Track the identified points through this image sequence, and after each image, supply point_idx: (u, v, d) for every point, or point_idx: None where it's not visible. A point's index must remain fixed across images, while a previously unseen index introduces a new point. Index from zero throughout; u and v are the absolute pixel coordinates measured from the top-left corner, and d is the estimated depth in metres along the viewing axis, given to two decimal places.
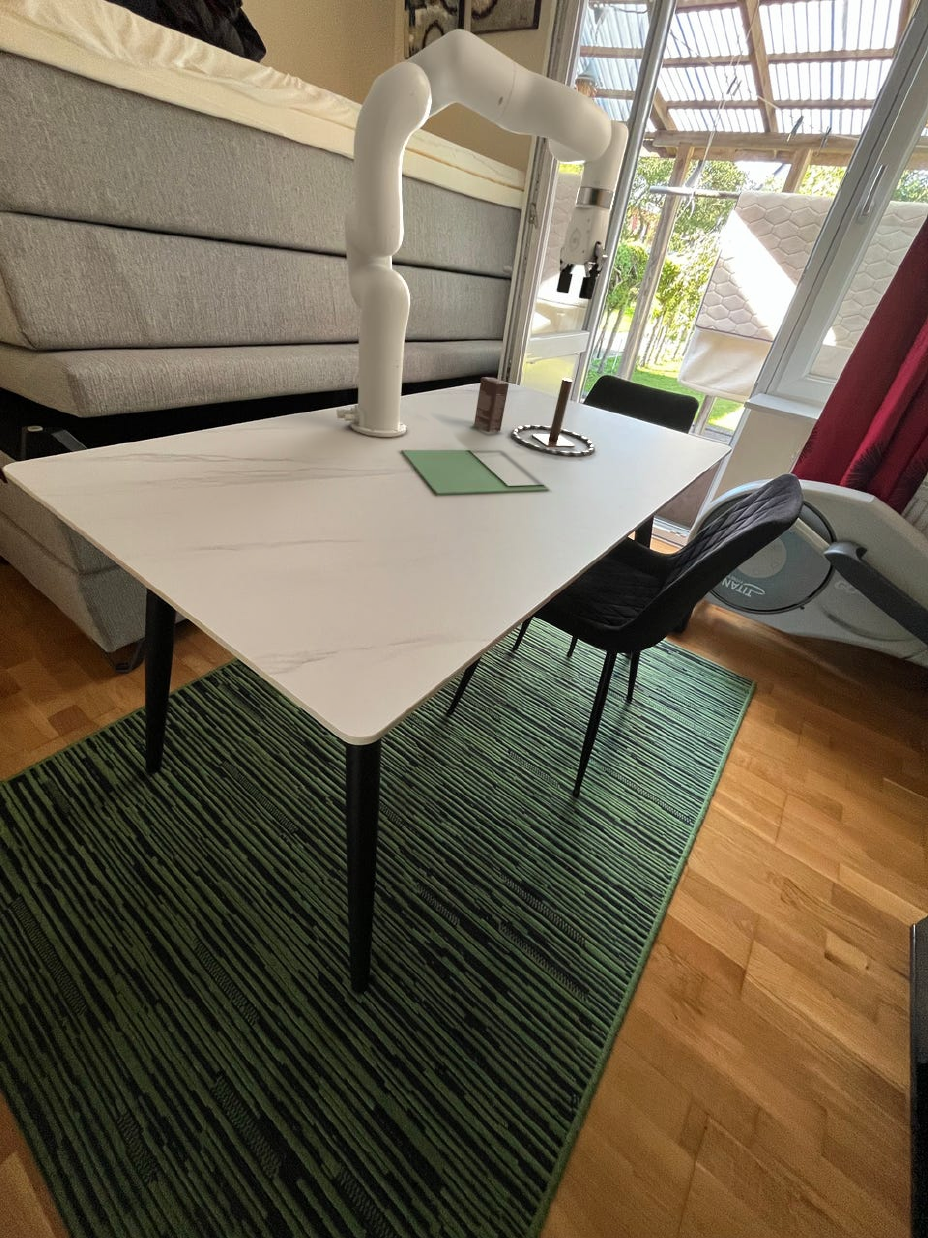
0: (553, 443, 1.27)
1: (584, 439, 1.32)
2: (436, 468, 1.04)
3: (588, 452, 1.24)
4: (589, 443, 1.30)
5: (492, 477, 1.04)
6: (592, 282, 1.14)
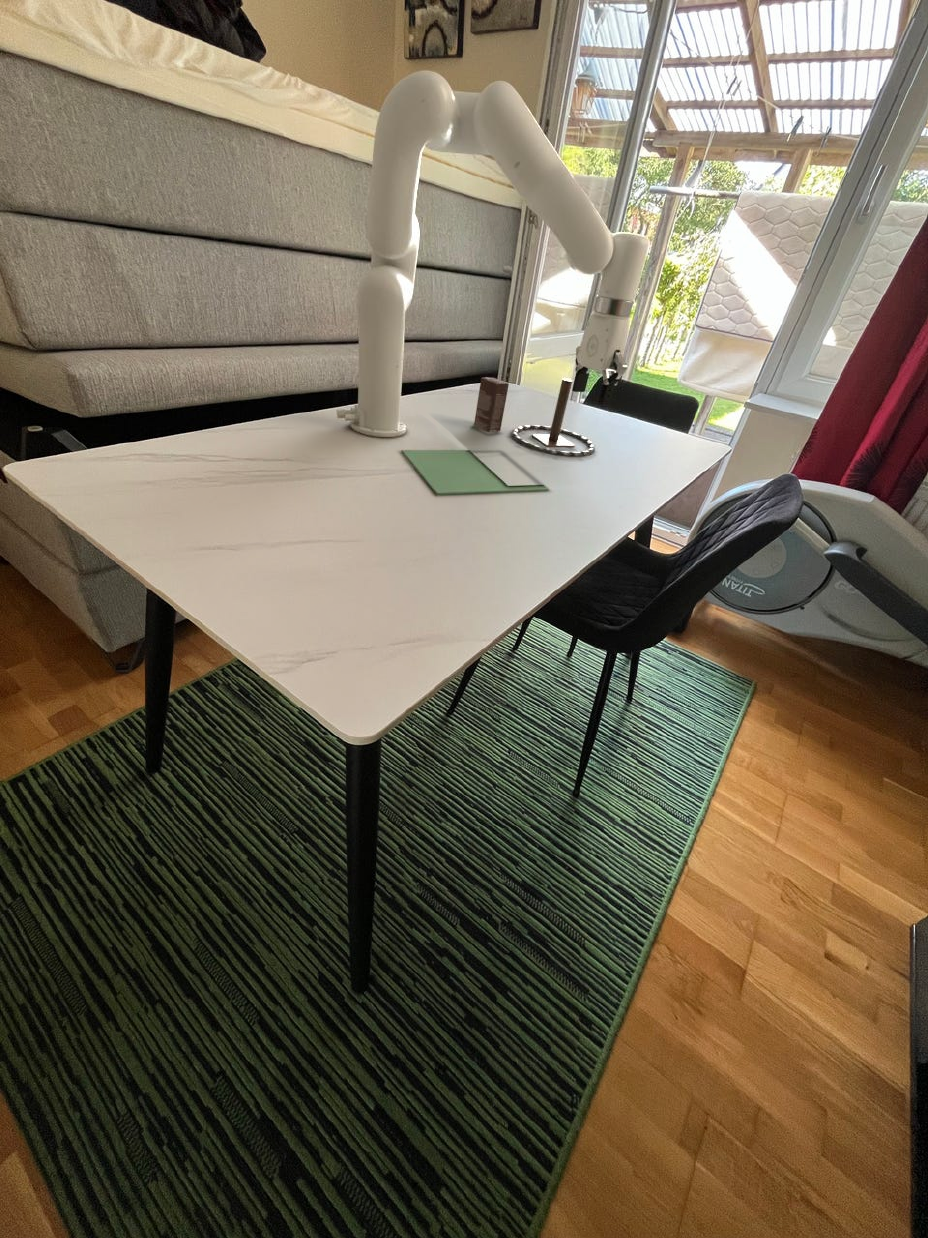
0: (553, 443, 1.27)
1: (584, 439, 1.32)
2: (436, 468, 1.04)
3: (588, 452, 1.24)
4: (589, 443, 1.30)
5: (492, 477, 1.04)
6: (611, 389, 1.09)
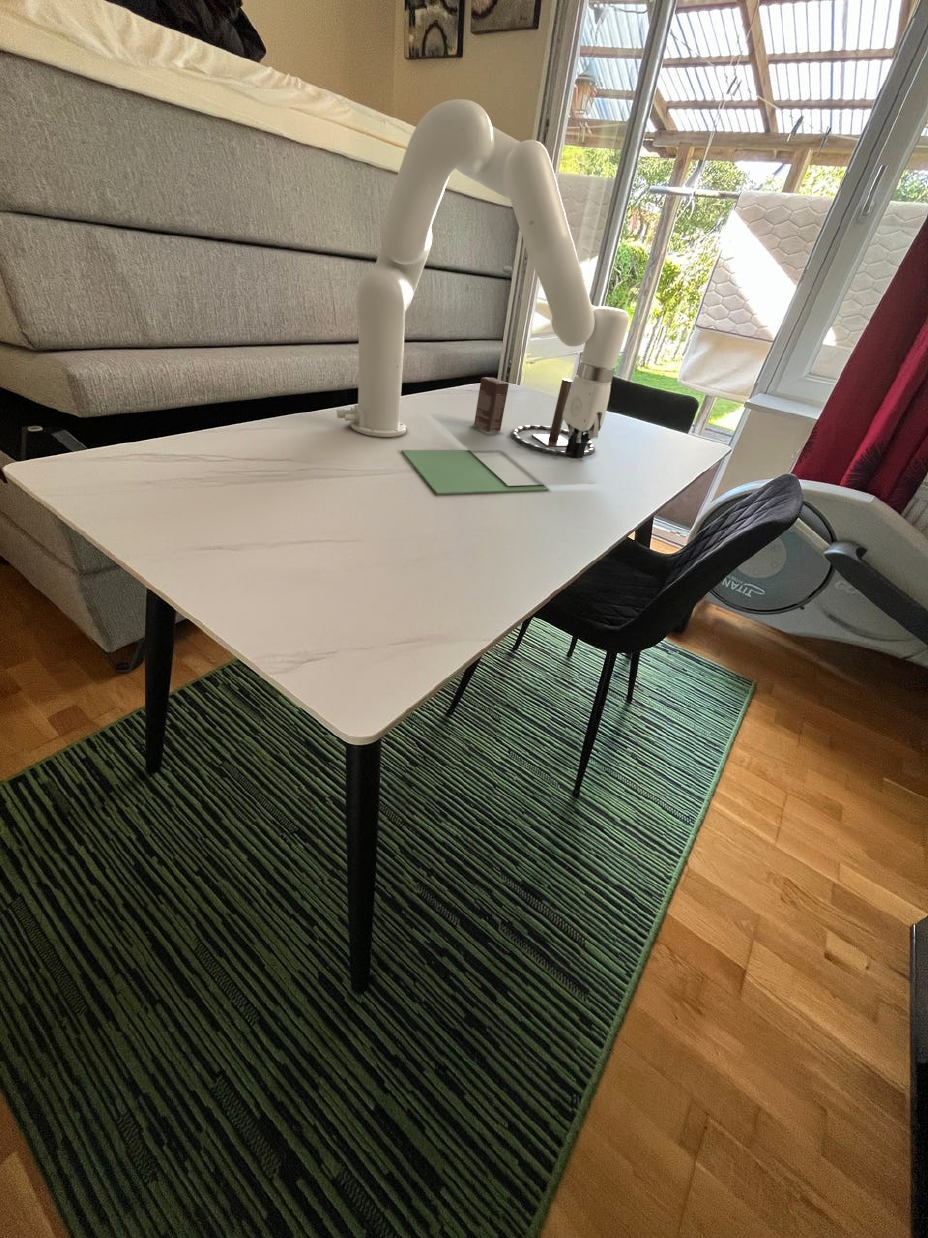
0: (553, 443, 1.27)
1: None
2: (436, 468, 1.04)
3: (588, 452, 1.24)
4: (589, 443, 1.30)
5: (492, 477, 1.04)
6: (583, 446, 1.19)
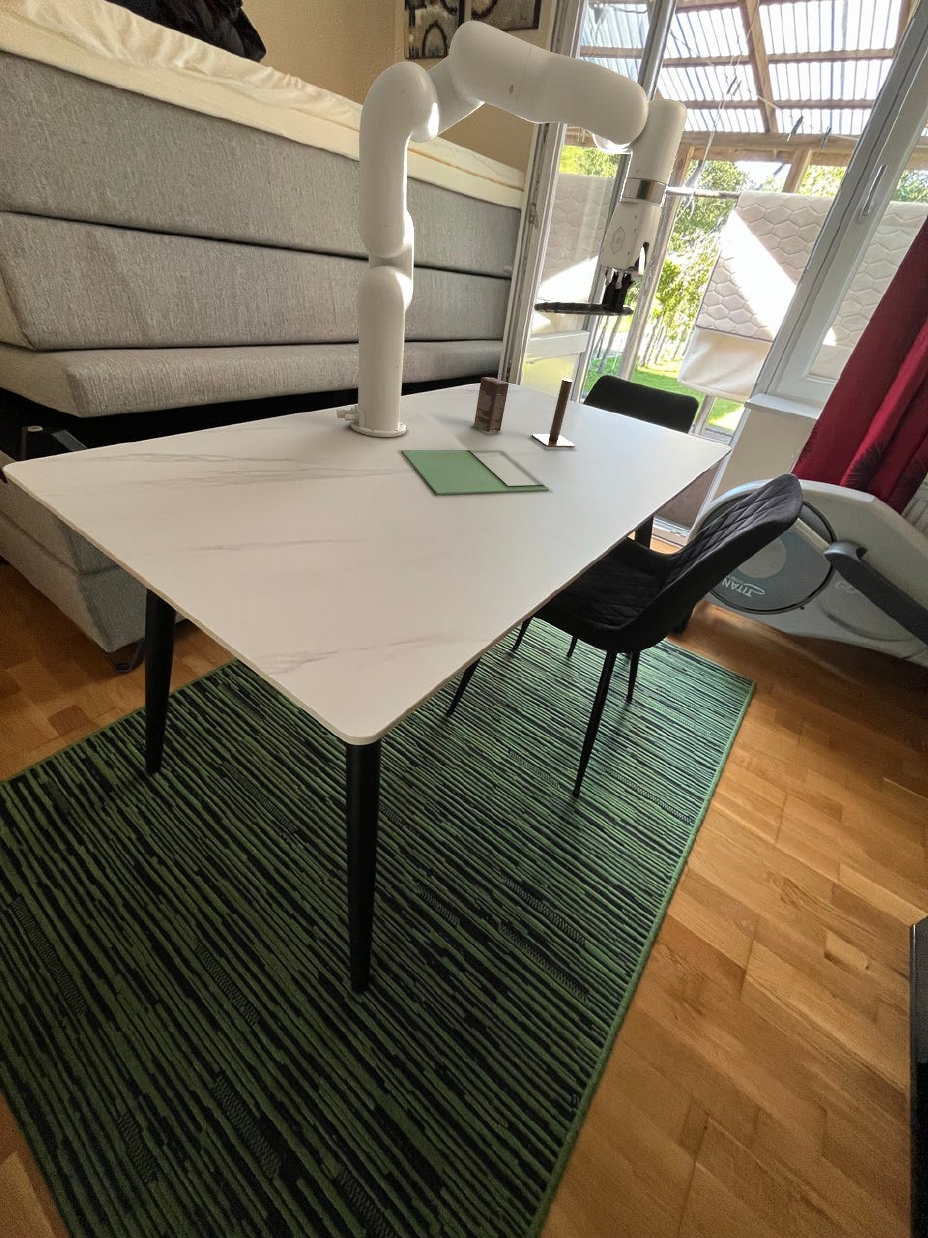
0: (553, 443, 1.27)
1: None
2: (436, 468, 1.04)
3: (627, 307, 1.06)
4: None
5: (492, 477, 1.04)
6: (623, 294, 1.01)
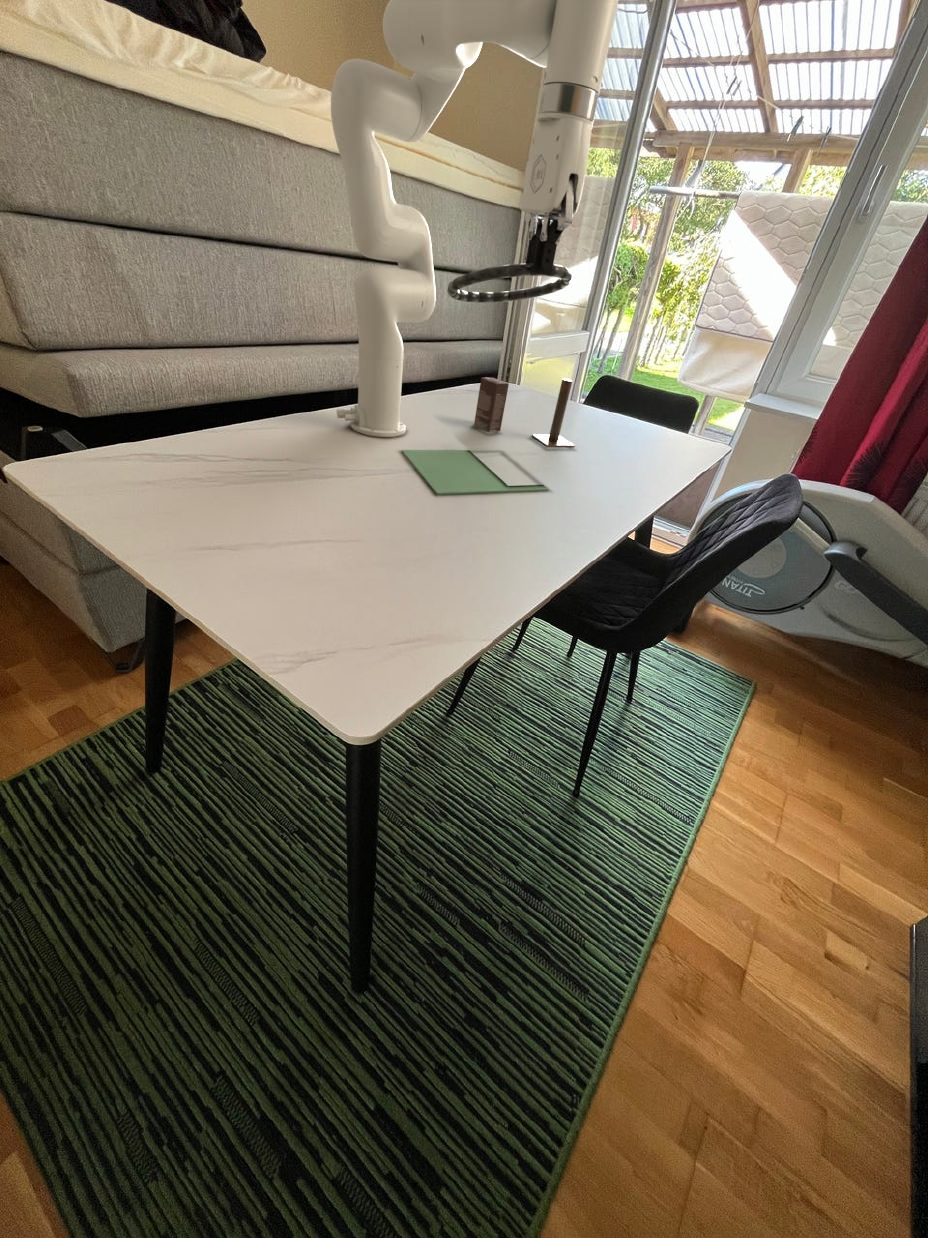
0: (553, 443, 1.27)
1: (556, 280, 0.91)
2: (436, 468, 1.04)
3: (560, 266, 0.82)
4: None
5: (492, 477, 1.04)
6: (551, 249, 0.77)
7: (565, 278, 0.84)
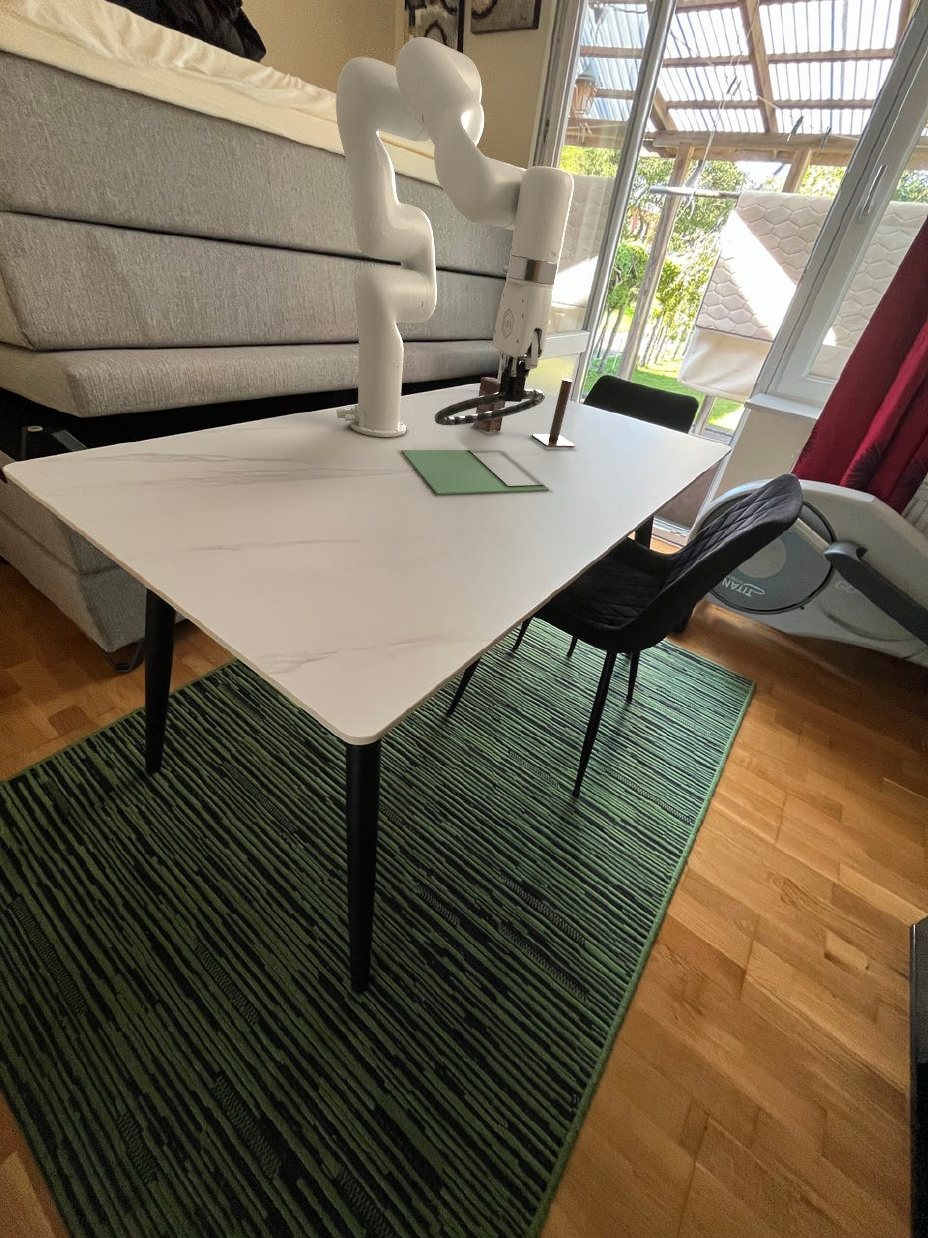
0: (553, 443, 1.27)
1: (531, 398, 1.01)
2: (436, 468, 1.04)
3: (531, 390, 0.91)
4: None
5: (492, 477, 1.04)
6: (520, 382, 0.87)
7: (537, 398, 0.93)
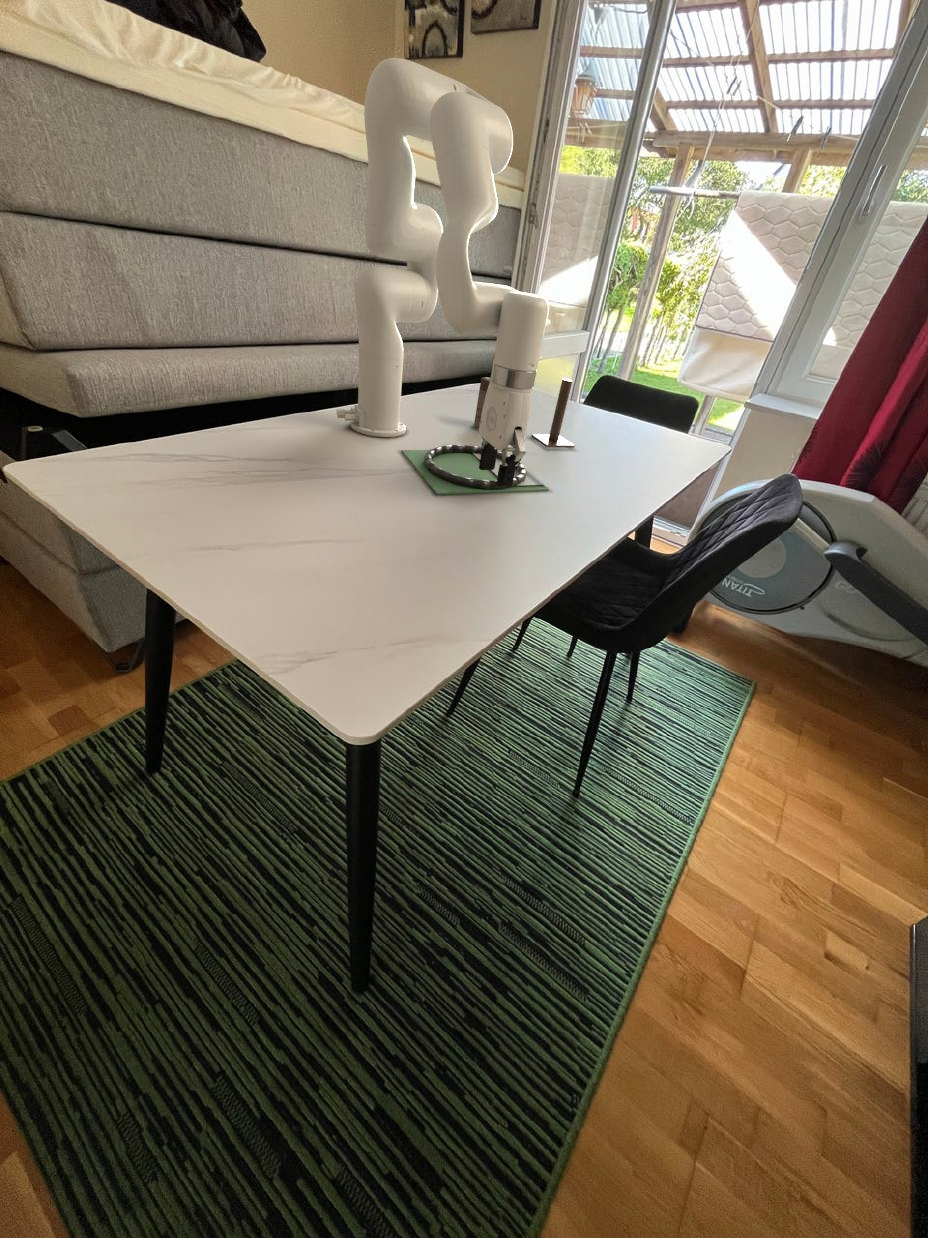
0: (553, 443, 1.27)
1: None
2: None
3: (515, 480, 1.01)
4: (520, 468, 1.07)
5: (492, 477, 1.04)
6: (511, 470, 0.93)
7: None
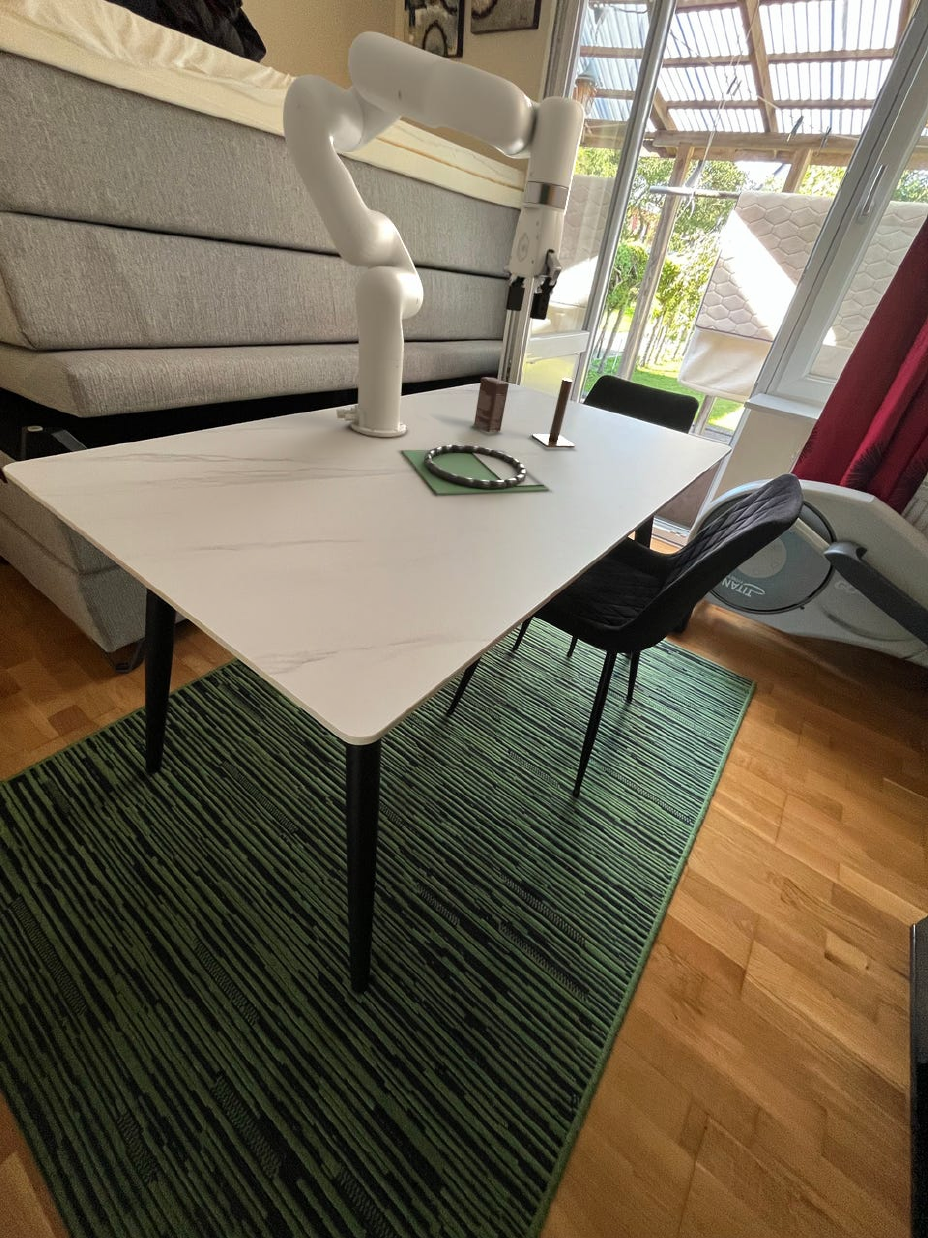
0: (553, 443, 1.27)
1: (515, 462, 1.09)
2: None
3: (515, 480, 1.01)
4: (520, 468, 1.07)
5: (492, 477, 1.04)
6: (545, 299, 0.92)
7: None
